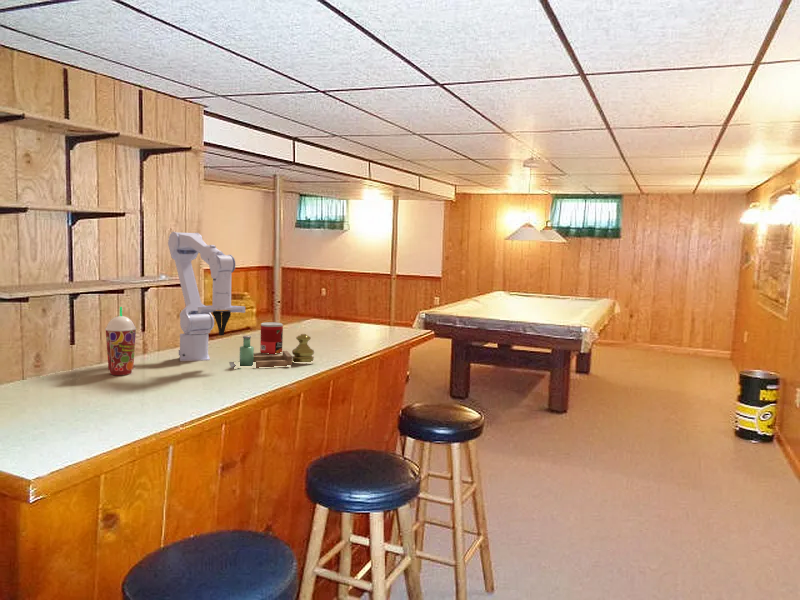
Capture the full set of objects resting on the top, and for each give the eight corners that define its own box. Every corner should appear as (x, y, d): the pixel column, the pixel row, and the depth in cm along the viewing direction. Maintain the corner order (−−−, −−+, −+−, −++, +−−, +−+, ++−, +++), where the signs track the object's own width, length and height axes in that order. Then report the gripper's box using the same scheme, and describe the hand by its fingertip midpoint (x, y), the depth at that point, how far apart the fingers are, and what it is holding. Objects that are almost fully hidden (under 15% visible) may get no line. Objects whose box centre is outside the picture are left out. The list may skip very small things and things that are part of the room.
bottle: (240, 366, 195) (240, 337, 194) (238, 363, 199) (239, 335, 198) (254, 366, 196) (254, 337, 195) (252, 363, 200) (253, 335, 199)
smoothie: (124, 377, 175) (124, 309, 173) (99, 375, 177) (98, 307, 175) (142, 371, 183) (142, 306, 181) (117, 369, 185) (117, 304, 183)
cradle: (232, 370, 190) (232, 358, 190) (229, 362, 201) (229, 351, 201) (292, 368, 197) (292, 356, 196) (286, 361, 208) (286, 350, 208)
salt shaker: (316, 361, 209) (316, 333, 208) (310, 365, 202) (311, 336, 201) (295, 360, 210) (295, 332, 209) (289, 364, 202) (289, 335, 202)
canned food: (279, 355, 217) (280, 325, 216) (257, 354, 217) (258, 324, 216) (284, 352, 225) (285, 322, 224) (263, 351, 225) (263, 321, 224)
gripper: (198, 293, 186) (198, 337, 187) (246, 294, 191) (245, 336, 192) (197, 291, 193) (197, 333, 194) (244, 292, 198) (243, 333, 199)
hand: (221, 334), depth 194 cm, fingers closed
